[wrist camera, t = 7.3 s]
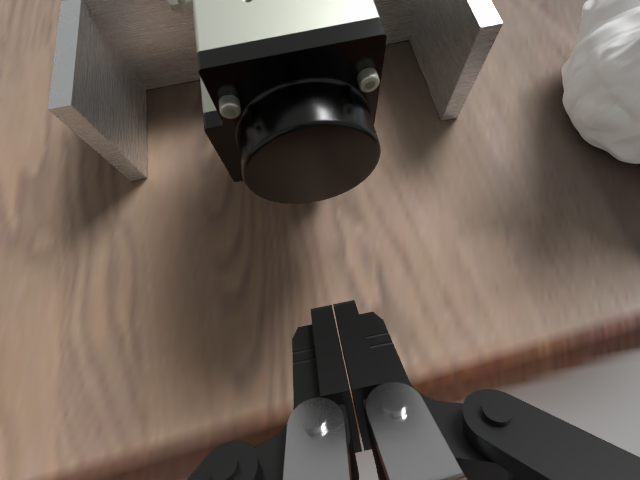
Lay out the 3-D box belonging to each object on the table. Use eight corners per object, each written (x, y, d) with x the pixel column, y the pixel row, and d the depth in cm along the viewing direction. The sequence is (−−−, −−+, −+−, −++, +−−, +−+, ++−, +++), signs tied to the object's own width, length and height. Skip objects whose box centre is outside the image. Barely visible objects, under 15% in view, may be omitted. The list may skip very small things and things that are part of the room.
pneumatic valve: (324, 77, 22) (308, -226, 11) (366, 241, 18) (415, 32, 6) (241, 93, 22) (136, -195, 10) (264, 261, 18) (135, 86, 6)
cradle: (130, 180, 20) (47, 109, 14) (131, 80, 23) (63, -14, 17) (457, 117, 20) (503, 22, 14) (419, 26, 23) (445, -84, 17)
